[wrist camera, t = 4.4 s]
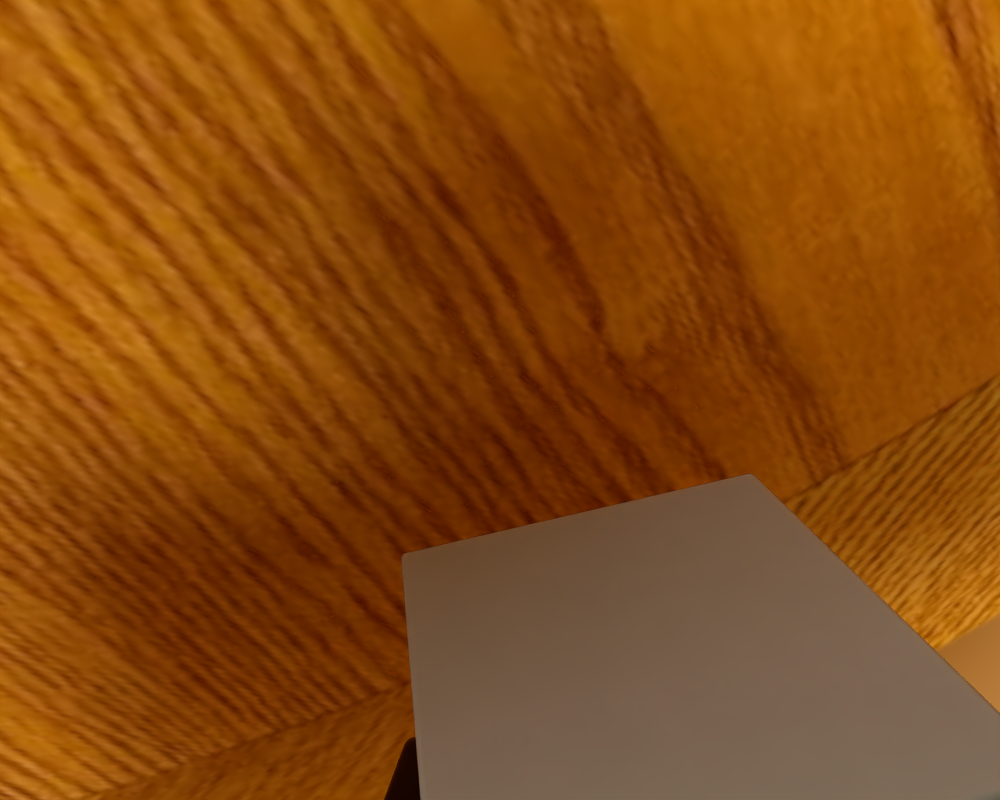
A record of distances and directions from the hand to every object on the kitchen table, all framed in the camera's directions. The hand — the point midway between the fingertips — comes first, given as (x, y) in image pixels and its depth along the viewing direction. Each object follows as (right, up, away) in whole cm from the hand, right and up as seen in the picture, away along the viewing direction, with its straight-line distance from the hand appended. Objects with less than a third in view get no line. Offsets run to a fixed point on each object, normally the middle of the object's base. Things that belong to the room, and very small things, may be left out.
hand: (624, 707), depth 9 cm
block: (0, 0, +1) cm, 1 cm away
